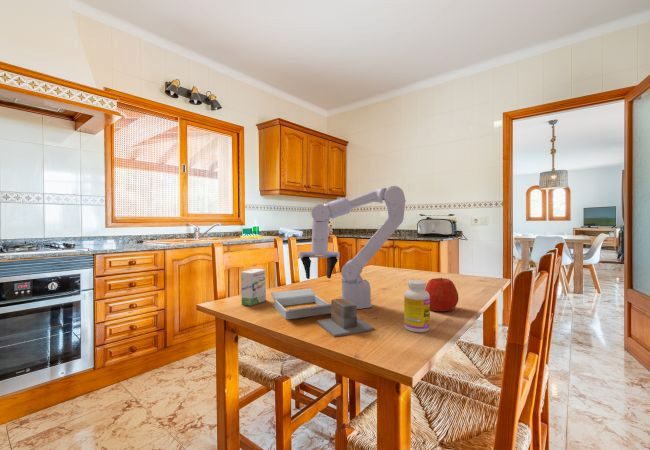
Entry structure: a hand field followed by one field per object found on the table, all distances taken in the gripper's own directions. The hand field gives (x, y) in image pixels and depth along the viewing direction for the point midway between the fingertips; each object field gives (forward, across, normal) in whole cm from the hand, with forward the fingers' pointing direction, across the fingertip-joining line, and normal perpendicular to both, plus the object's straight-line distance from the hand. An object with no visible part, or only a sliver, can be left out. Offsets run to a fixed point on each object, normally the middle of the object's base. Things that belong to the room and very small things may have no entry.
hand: (318, 278), depth 106 cm
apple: (+7, +36, -19) cm, 42 cm away
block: (+8, +1, -22) cm, 24 cm away
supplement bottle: (+8, +19, -32) cm, 38 cm away
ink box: (+11, -21, +12) cm, 26 cm away
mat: (+9, +1, -23) cm, 25 cm away
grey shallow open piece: (+10, -6, -4) cm, 12 cm away
